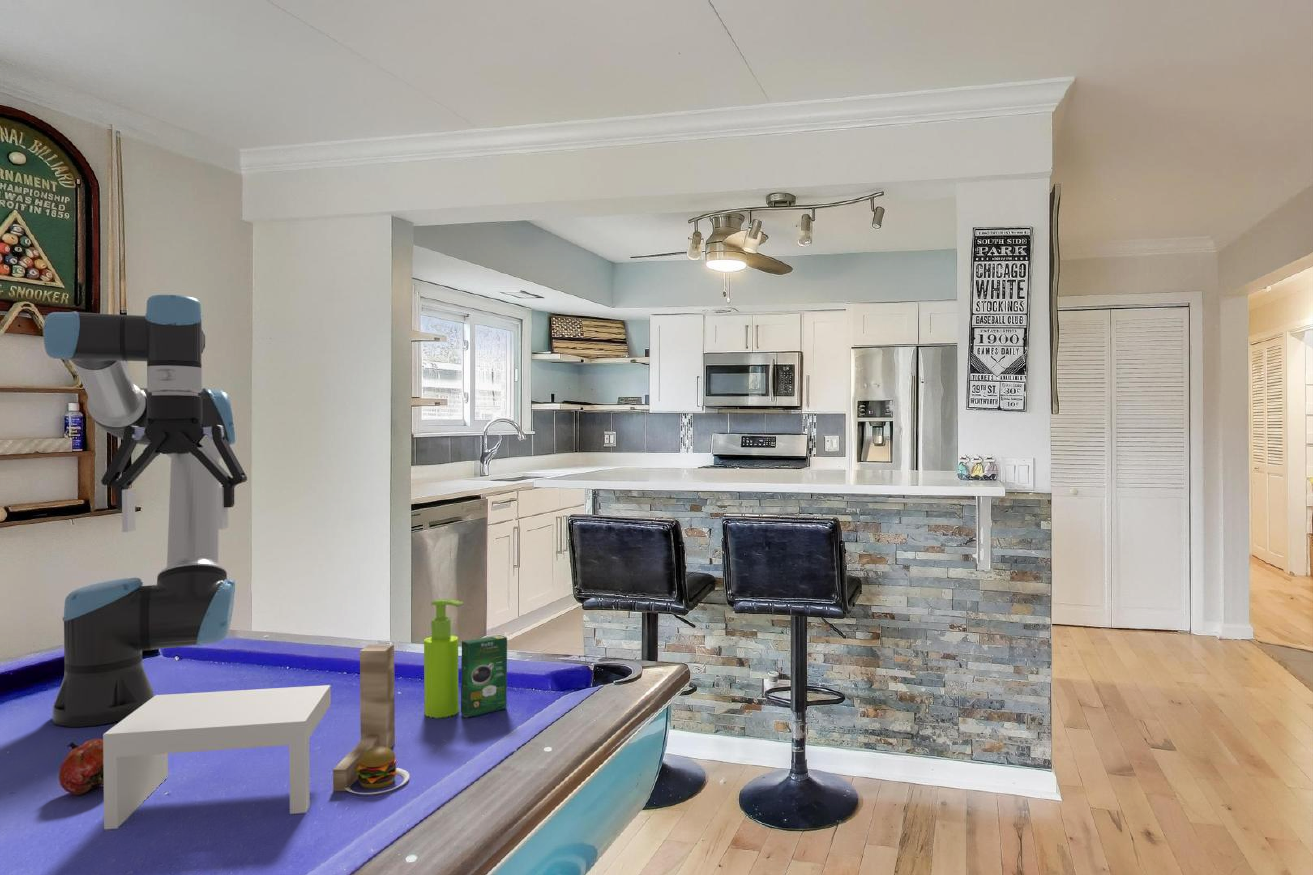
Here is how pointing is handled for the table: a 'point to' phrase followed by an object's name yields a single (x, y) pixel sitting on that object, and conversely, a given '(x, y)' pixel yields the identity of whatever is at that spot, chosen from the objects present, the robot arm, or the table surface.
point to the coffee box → (483, 675)
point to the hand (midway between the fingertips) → (176, 530)
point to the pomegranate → (83, 767)
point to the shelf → (208, 738)
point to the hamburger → (378, 769)
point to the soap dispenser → (441, 665)
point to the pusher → (371, 710)
